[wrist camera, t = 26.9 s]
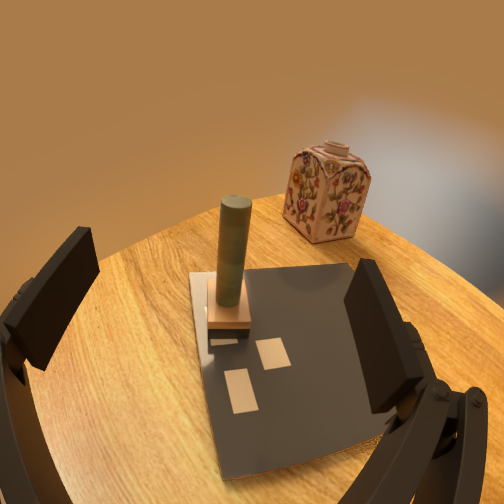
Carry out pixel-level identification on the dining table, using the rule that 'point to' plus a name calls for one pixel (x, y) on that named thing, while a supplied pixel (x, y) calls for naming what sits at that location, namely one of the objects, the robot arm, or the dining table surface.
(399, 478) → the robot arm
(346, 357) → the tile
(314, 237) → the decorative jar
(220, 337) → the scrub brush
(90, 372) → the dining table surface
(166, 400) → the dining table surface
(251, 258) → the dining table surface
